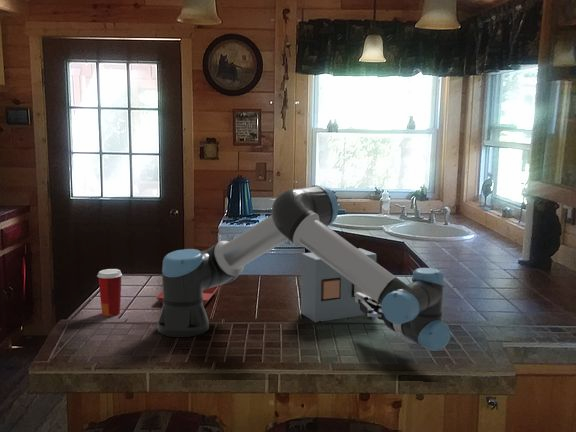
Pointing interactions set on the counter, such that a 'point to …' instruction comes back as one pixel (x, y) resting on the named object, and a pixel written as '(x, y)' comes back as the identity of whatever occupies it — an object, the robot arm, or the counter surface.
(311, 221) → the robot arm
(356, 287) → the cream button
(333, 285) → the rust button
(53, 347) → the counter surface
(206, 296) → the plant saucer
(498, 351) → the counter surface
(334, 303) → the box
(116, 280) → the paper cup
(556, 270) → the counter surface
